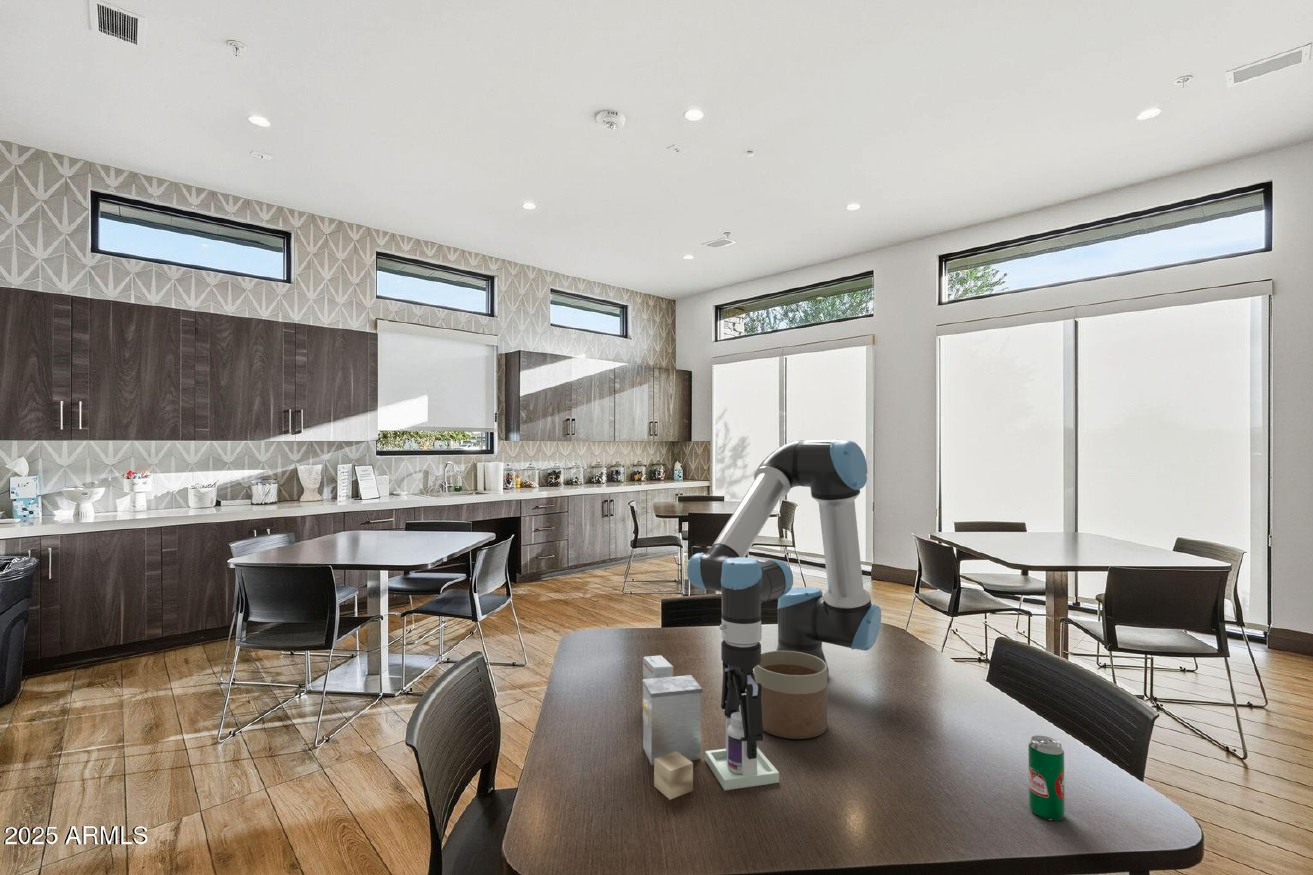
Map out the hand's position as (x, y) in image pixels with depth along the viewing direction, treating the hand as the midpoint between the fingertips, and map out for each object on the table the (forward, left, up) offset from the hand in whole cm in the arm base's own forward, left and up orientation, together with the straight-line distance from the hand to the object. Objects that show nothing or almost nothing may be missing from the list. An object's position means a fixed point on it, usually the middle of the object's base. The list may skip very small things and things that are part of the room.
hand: (740, 762), depth 113 cm
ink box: (+9, -29, -2) cm, 30 cm away
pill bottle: (0, 0, -1) cm, 1 cm away
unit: (+11, -10, -2) cm, 15 cm away
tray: (0, 0, -2) cm, 2 cm away
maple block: (+14, +2, -2) cm, 14 cm away
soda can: (-45, +24, -2) cm, 51 cm away
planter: (-18, -16, -2) cm, 24 cm away
